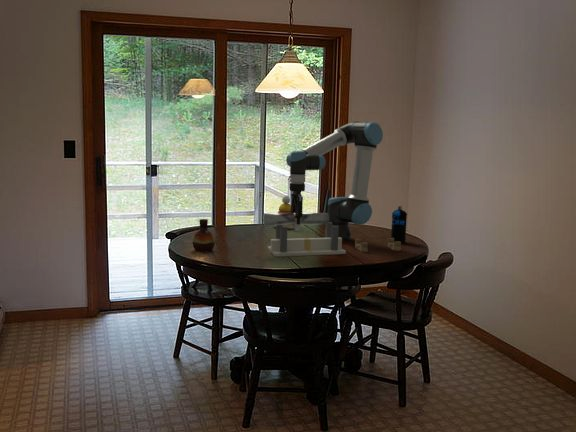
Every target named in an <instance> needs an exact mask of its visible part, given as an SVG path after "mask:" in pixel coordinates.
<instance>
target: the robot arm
mask: <svg viewBox="0 0 576 432" xmlns="http://www.w3.org/2000/svg"><path fill="white" fill-rule="evenodd" d="M383 138H384V132H383V129H382V127H381V125H380V124H379V123H377V122H374V121H358V120H357V121H352V122H348V123H345V124H344V125H342V126H340V127H338V128H336V129H334V131H333V133H331V134H329V135H327V136H325V137H323V138H322V139H319V140H318V141H316V142H314V143H312V144H310V145H309V146H306V147H305V148H303V149H301V150H292V151H291V152H290V153H287V156H286V160H285V161H286V165H287V166H288V167H289V176H288V178H289V191H291V192H292V193H290V197H291V198H290V205H291V213H296V216H295V225H291V229H294V231H295V232H301V230H302V229H301V227H302V225H301V217H302V213H303V201H304V197H303V195H302V192H305V190H306V171H321V170H323V169H325V167H326V163H327V162H326V158H325V156H324V155H325V154H327V153H329V152H331V151H333V150H334V149H336V148H337V147H340V146H346V145H348V144H354V148H355V149H356V152H355V161H354V169H353V175H352V183H351V189H350V194H349V195H348V196H340V197H339V196H338V197H337V196H335V197H330V198H329V199H328V200H327V201H328V202H327V213H328V215H329V222H332V223H333V226H339V230H338V237H341V238H342V242H346V241H350V240H352V233H351V229H350V226H349V223H351V224H354V225H365V224H366V223H367V222H368V221H369V220H370V219H371V218H372V214H373V209H372V205H371V204H370V199H369V198H368V197H367V196H368V189H369V182H370V176H371V175H370V174H371V169H372V162H373V153H374V151H376V150H377V146H379V144H381V143H382V141H383ZM299 214H300V215H299ZM325 231H326V229H325V230H324V233H323V238H325Z"/></svg>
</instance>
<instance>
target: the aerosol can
mask: <svg viewBox="0 0 576 432" xmlns="http://www.w3.org/2000/svg"><path fill="white" fill-rule="evenodd" d="M402 207H403V206H402V205H397V209H396V210H394V211H393V212H391V215H392V216H391V234H390V238H394V242H396V241H400V242H401V243H403V244H406V243H407V241H406V235H407V234H406V233H407V218H408V213H407V212H406V211H405V210H403V208H402Z"/></svg>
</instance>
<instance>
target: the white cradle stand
mask: <svg viewBox="0 0 576 432" xmlns="http://www.w3.org/2000/svg"><path fill="white" fill-rule="evenodd" d="M325 230H326V231H325ZM325 230H324V233H325V238H324V237H306V238H304V237H303V238H302V237H297V238H288V228H287V227H283V225H281V226H276V227H275V238H272V239H270V245H267V250H268V251H269V252H270V254H272V255H273V256H274V257H293V256H294V257H296V256H297V257H298V256H299V257H300V256H323V255H346V254H347V250H346V249H344V248H343V246H342V245H343V241H342V238H341V237H338V230H339V226H333V223H332V222H329V223H328V225H325Z"/></svg>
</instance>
